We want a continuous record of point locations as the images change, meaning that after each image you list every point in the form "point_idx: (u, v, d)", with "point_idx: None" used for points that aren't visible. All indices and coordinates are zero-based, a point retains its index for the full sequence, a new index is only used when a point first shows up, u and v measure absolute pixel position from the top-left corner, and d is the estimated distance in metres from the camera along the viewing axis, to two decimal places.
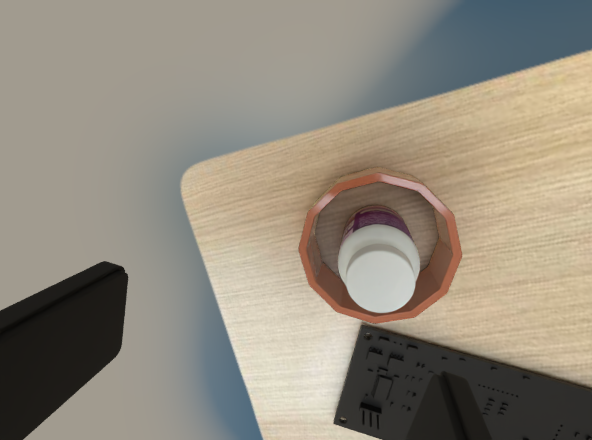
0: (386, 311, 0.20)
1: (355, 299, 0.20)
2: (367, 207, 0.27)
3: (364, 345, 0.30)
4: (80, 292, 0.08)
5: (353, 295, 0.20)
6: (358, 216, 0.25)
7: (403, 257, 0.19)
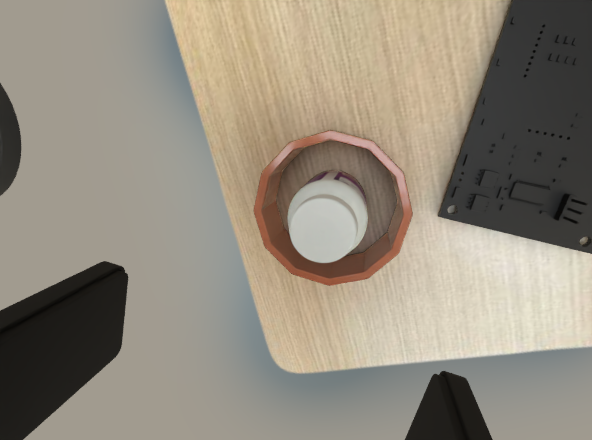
0: (354, 225, 0.19)
1: (341, 255, 0.19)
2: None
3: (465, 214, 0.26)
4: (80, 292, 0.08)
5: (337, 256, 0.20)
6: None
7: (296, 208, 0.20)
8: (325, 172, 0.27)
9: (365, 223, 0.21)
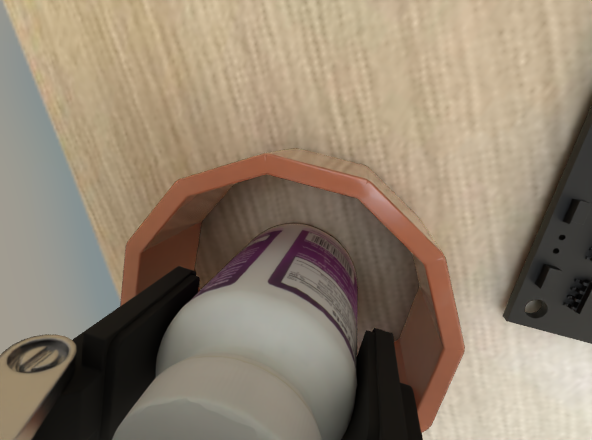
0: None
1: None
2: None
3: (562, 318, 0.12)
4: (168, 295, 0.09)
5: None
6: None
7: (128, 413, 0.06)
8: (275, 231, 0.13)
9: (349, 409, 0.08)
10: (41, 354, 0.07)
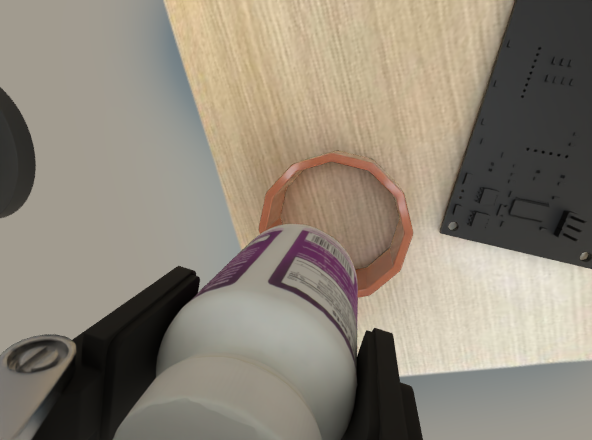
0: None
1: None
2: None
3: (465, 230, 0.26)
4: (168, 295, 0.09)
5: None
6: None
7: (129, 412, 0.06)
8: (275, 231, 0.13)
9: (348, 409, 0.08)
10: (41, 354, 0.07)
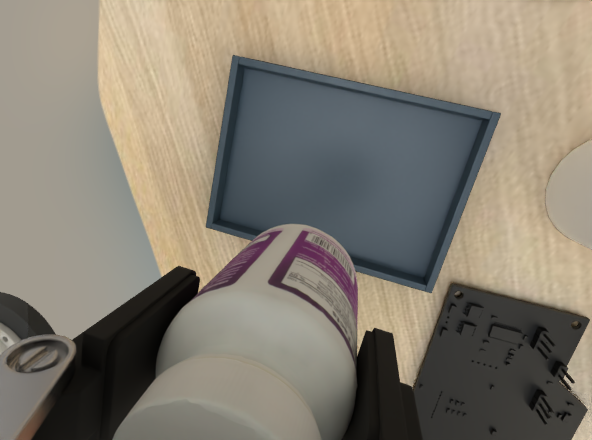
0: None
1: None
2: None
3: None
4: (168, 295, 0.09)
5: None
6: None
7: (128, 414, 0.06)
8: (275, 231, 0.13)
9: (349, 409, 0.08)
10: (41, 354, 0.07)
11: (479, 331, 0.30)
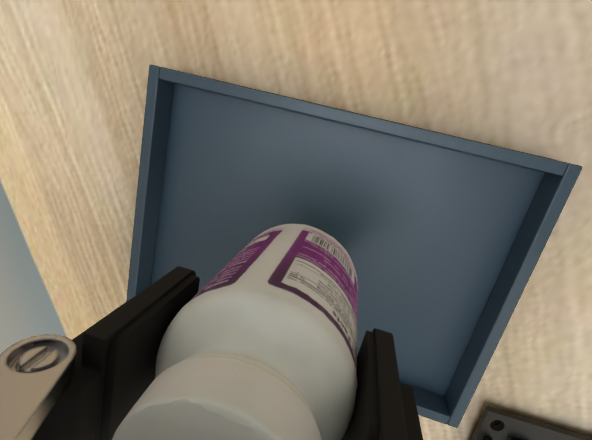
0: None
1: None
2: None
3: None
4: (168, 295, 0.09)
5: None
6: None
7: None
8: (275, 231, 0.13)
9: (348, 409, 0.08)
10: (41, 354, 0.07)
11: None
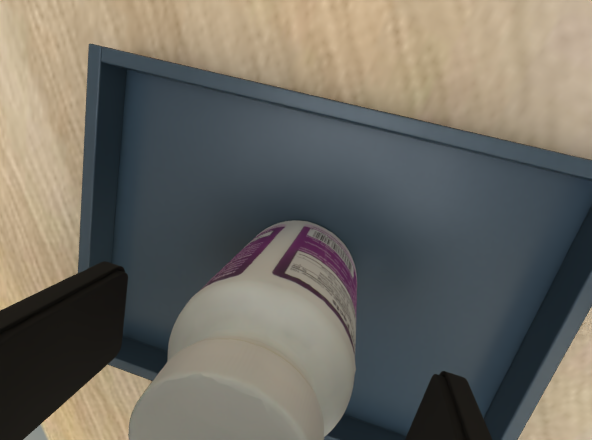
0: None
1: None
2: None
3: None
4: (80, 292, 0.08)
5: None
6: None
7: (146, 389, 0.07)
8: (278, 227, 0.14)
9: (347, 390, 0.08)
10: None
11: None
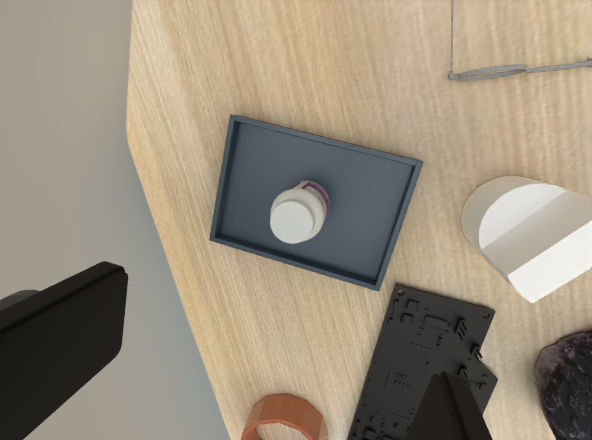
0: (311, 218, 0.29)
1: (304, 238, 0.30)
2: None
3: None
4: (80, 292, 0.08)
5: (301, 239, 0.30)
6: None
7: (274, 208, 0.30)
8: (299, 182, 0.37)
9: (321, 217, 0.32)
10: None
11: (416, 320, 0.40)
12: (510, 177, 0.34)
